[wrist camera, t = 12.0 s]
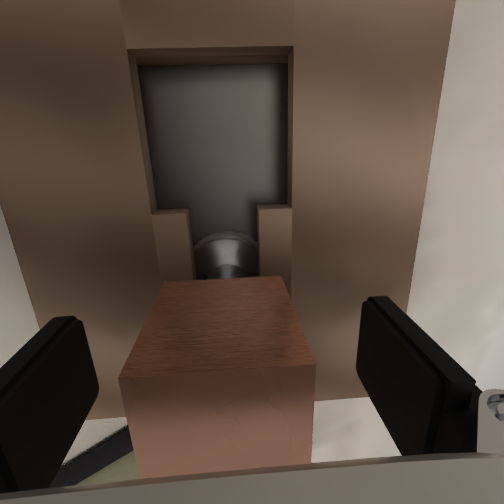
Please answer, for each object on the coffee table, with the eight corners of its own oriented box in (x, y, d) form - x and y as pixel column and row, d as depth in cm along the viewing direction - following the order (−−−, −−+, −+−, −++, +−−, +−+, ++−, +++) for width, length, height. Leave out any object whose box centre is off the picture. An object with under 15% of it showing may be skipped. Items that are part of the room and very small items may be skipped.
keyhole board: (4, -5, 12) (-85, -65, 8) (403, -10, 12) (466, -65, 9) (99, 369, 18) (69, 421, 14) (364, 350, 19) (393, 394, 15)
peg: (182, 232, 15) (105, 370, 6) (268, 228, 16) (325, 355, 6) (190, 308, 17) (139, 516, 7) (268, 303, 17) (316, 499, 8)
